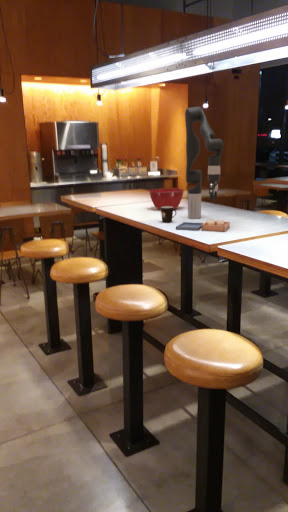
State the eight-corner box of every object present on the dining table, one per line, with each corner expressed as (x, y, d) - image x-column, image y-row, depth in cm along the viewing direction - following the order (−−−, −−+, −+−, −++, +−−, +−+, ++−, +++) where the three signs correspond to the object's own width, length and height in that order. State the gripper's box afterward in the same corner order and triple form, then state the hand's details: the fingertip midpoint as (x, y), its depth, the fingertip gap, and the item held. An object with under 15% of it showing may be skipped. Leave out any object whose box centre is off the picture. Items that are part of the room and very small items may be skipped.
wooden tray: (207, 226, 266) (207, 220, 265) (229, 227, 261) (229, 221, 260) (201, 230, 254) (201, 224, 253) (224, 231, 248) (224, 226, 248)
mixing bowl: (143, 208, 347) (142, 189, 343) (173, 205, 359) (173, 187, 355) (158, 213, 322) (158, 192, 318) (190, 209, 334) (190, 190, 330)
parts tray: (183, 224, 273) (183, 222, 273) (204, 225, 268) (204, 223, 267) (175, 229, 259) (175, 226, 259) (197, 230, 254) (197, 227, 253)
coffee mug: (158, 221, 287) (158, 206, 285) (170, 220, 290) (170, 205, 288) (165, 224, 277) (165, 209, 274) (177, 223, 280) (177, 208, 277)
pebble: (217, 227, 259) (218, 219, 258) (225, 227, 257) (225, 220, 256) (216, 228, 255) (216, 221, 254) (223, 228, 253) (223, 221, 252)
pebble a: (208, 226, 261) (208, 219, 260) (215, 227, 259) (215, 219, 258) (206, 228, 257) (206, 220, 256) (213, 228, 255) (213, 221, 254)
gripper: (210, 171, 263) (210, 197, 268) (205, 174, 250) (204, 201, 255) (222, 171, 260) (221, 198, 265) (217, 174, 247) (217, 201, 252)
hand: (213, 199), depth 260 cm, fingers open, 8 cm apart
